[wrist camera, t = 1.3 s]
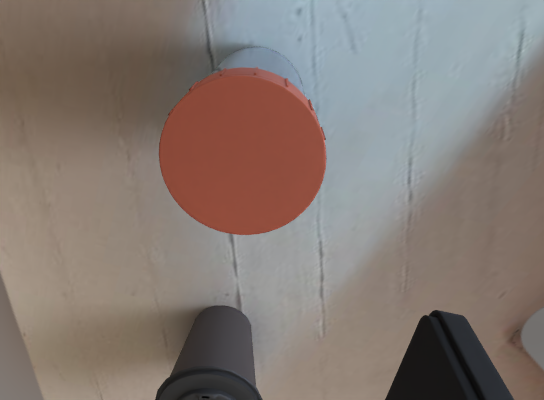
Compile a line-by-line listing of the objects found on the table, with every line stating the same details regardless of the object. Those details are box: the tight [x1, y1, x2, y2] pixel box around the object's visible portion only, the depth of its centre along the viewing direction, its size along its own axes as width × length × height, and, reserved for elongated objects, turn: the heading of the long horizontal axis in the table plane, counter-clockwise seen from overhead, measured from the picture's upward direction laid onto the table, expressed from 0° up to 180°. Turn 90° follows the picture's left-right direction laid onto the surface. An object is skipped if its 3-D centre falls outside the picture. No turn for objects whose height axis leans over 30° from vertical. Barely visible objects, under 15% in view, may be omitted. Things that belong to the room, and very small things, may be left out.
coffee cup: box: [155, 306, 262, 400], centre depth 38 cm, size 8×8×10 cm
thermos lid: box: [159, 67, 326, 235], centre depth 22 cm, size 7×7×2 cm
